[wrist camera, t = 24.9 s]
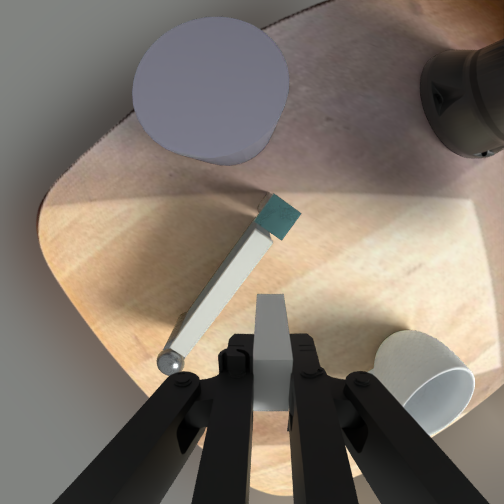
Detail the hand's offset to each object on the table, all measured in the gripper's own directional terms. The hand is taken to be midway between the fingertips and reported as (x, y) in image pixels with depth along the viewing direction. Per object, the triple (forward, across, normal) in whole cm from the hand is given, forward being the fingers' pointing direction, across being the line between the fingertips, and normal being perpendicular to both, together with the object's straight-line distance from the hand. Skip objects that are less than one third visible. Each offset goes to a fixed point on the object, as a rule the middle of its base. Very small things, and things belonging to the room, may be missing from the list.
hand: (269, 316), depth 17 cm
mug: (+19, +18, -16) cm, 30 cm away
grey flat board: (+18, -5, -3) cm, 18 cm away
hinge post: (+18, -10, -10) cm, 23 cm away
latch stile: (+18, 0, +4) cm, 19 cm away
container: (+18, -4, +14) cm, 24 cm away
